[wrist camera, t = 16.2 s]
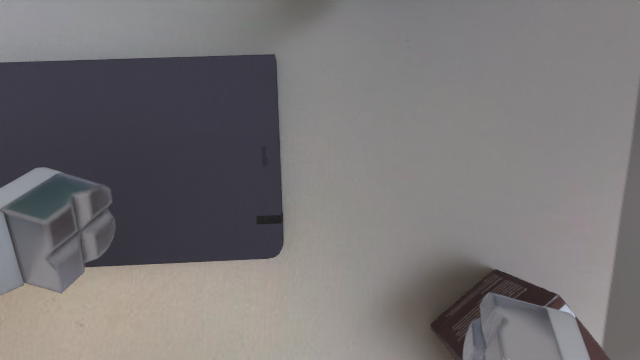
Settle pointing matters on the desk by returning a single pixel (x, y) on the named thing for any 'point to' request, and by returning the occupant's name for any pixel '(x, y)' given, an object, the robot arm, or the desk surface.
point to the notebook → (157, 149)
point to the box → (467, 309)
